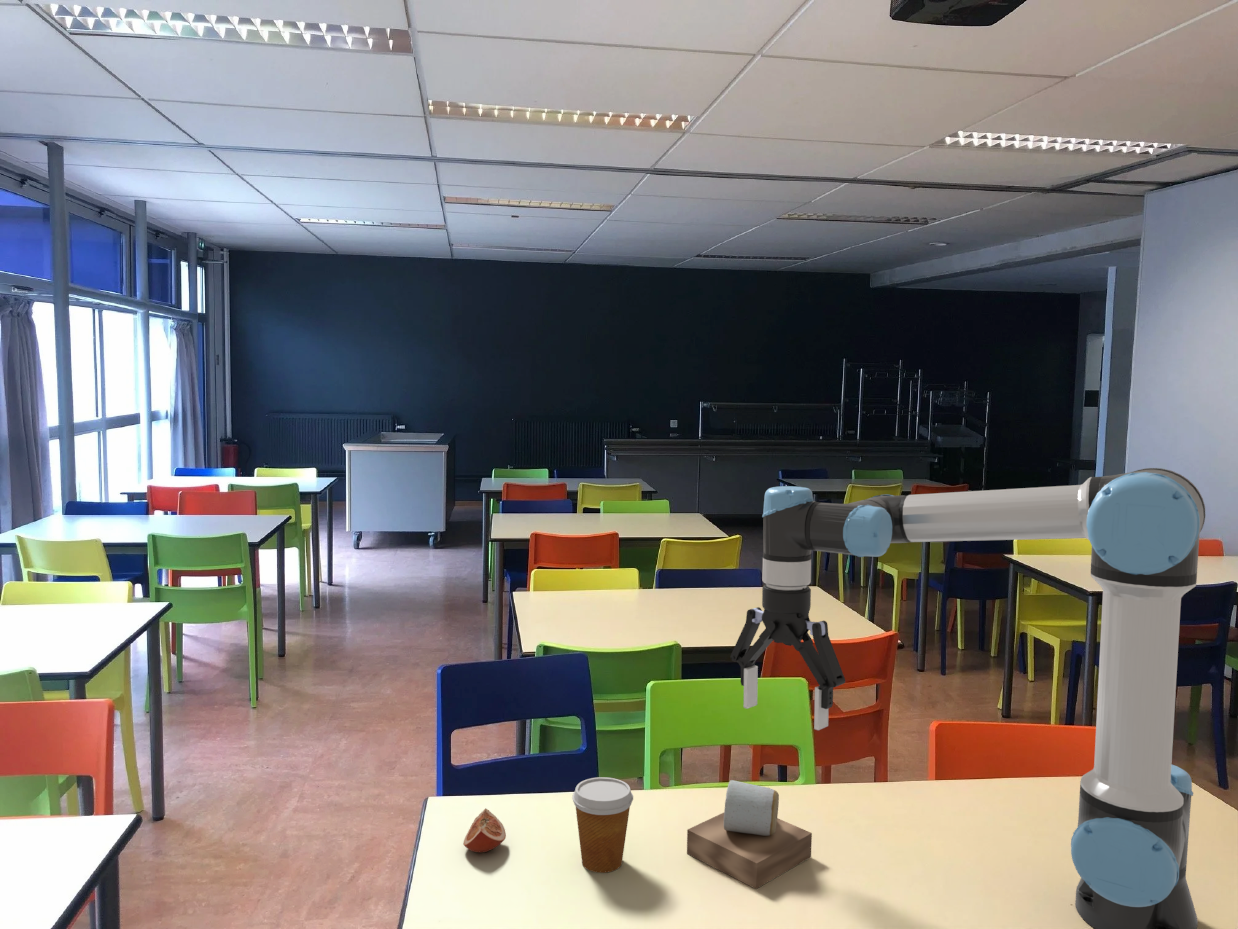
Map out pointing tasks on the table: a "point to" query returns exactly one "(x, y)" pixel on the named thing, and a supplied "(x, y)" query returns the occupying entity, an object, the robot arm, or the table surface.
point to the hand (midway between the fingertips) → (784, 716)
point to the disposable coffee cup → (602, 821)
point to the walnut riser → (749, 850)
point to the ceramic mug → (750, 809)
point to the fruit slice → (485, 833)
